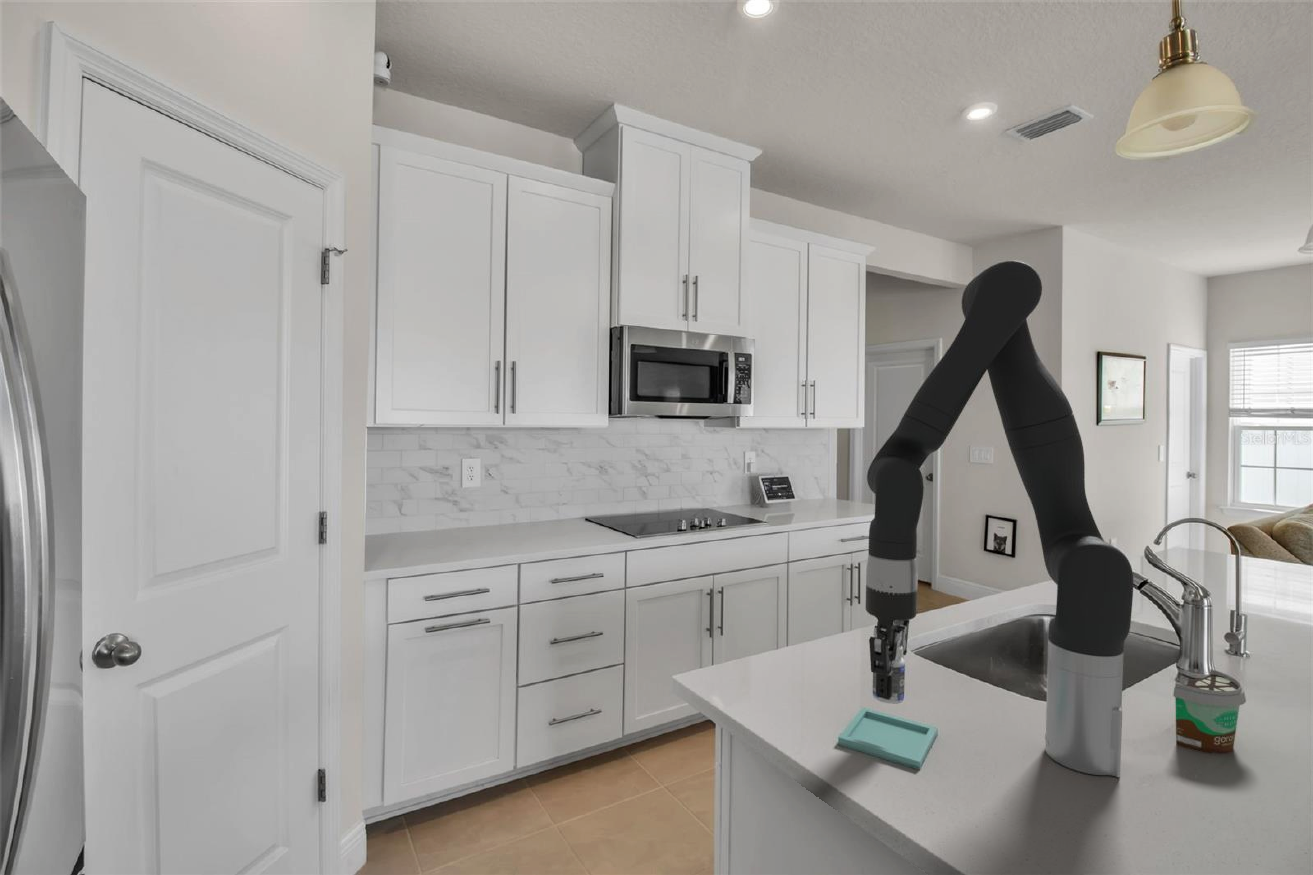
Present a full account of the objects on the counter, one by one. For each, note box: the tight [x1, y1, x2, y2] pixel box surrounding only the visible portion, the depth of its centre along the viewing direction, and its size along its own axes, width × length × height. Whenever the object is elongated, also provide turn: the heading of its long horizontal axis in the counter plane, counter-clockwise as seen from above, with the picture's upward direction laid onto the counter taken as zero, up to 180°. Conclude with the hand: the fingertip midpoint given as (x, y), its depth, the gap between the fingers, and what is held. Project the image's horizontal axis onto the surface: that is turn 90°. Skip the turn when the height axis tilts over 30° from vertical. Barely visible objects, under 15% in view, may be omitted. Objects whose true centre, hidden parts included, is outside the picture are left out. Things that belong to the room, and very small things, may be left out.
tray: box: [837, 706, 939, 771], centre depth 100 cm, size 12×12×1 cm
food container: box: [1172, 668, 1247, 755], centre depth 98 cm, size 12×6×10 cm, turn 118°
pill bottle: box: [871, 644, 906, 705], centre depth 99 cm, size 5×5×8 cm
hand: (888, 690), depth 99 cm, fingers closed on pill bottle, 4 cm apart
